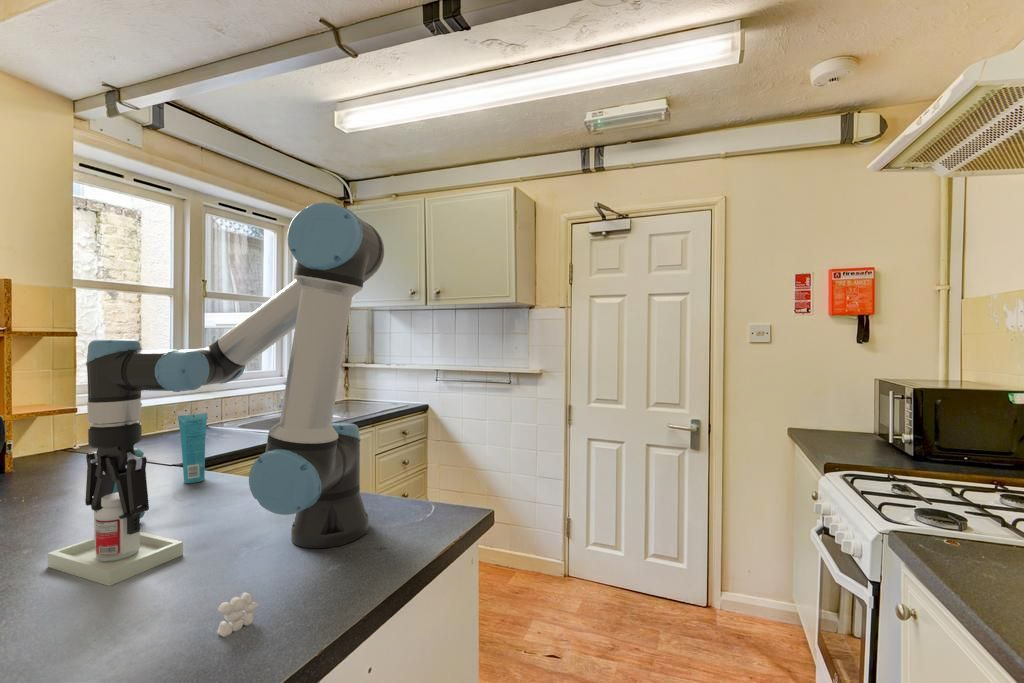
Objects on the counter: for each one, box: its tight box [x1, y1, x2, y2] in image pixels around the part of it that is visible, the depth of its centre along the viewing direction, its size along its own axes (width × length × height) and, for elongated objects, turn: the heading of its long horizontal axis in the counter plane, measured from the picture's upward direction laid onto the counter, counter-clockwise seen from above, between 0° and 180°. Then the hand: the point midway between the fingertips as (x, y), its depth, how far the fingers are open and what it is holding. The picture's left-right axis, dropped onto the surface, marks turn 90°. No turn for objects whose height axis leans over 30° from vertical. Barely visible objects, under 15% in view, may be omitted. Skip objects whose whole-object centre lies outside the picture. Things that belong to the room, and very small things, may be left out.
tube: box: [177, 412, 208, 484], centre depth 135 cm, size 7×5×19 cm, turn 152°
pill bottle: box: [96, 492, 139, 562], centre depth 87 cm, size 6×6×11 cm
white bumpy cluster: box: [216, 591, 259, 638], centre depth 67 cm, size 5×1×4 cm, turn 148°
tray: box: [47, 531, 184, 587], centre depth 87 cm, size 18×12×2 cm, turn 68°
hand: (117, 546), depth 87 cm, fingers open, 7 cm apart
